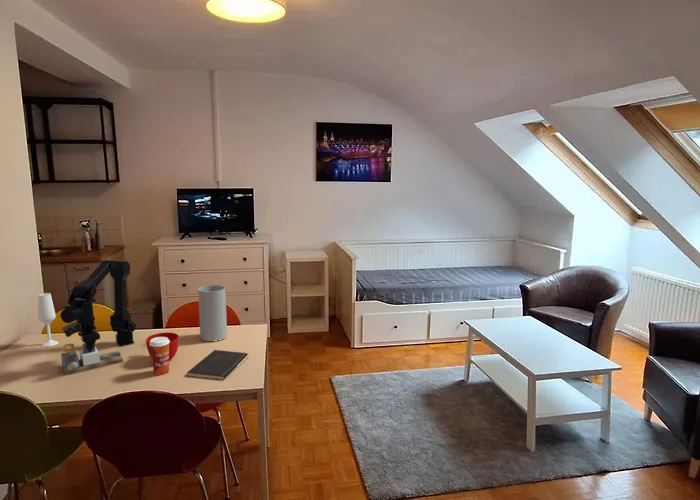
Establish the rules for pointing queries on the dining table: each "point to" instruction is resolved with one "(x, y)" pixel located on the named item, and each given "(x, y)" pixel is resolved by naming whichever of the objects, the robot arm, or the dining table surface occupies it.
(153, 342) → the paper cup
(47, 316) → the champagne flute
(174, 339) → the ceramic cup
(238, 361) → the hardcover book
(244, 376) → the dining table surface
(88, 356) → the carriage
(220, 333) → the cylinder vase
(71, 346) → the button
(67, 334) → the robot arm
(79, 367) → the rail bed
